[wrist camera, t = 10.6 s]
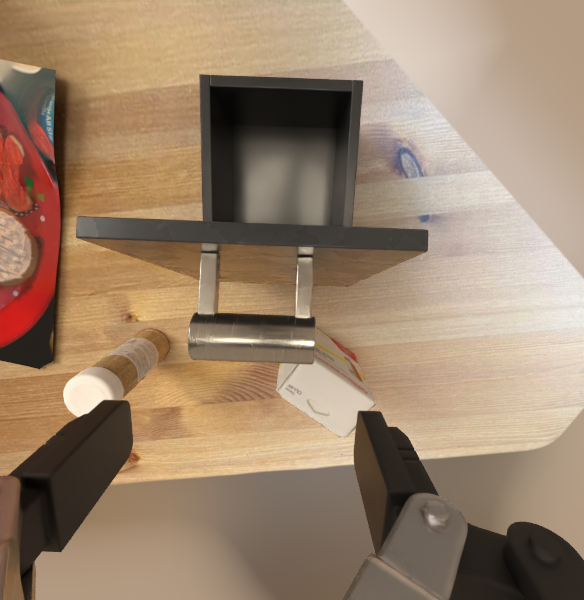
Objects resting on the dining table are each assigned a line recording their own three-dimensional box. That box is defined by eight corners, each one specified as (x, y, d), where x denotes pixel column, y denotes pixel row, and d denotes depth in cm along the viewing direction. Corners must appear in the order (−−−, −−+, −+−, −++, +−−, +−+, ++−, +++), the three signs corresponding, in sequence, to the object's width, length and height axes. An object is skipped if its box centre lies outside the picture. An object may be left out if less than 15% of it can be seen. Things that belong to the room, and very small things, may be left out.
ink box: (357, 354, 41) (380, 405, 30) (333, 383, 42) (347, 442, 31) (302, 316, 40) (305, 353, 29) (279, 347, 41) (273, 394, 30)
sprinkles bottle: (138, 362, 42) (67, 424, 29) (131, 328, 41) (54, 377, 28) (173, 359, 42) (118, 420, 29) (167, 325, 41) (107, 373, 28)
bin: (227, 118, 35) (199, 74, 25) (343, 123, 35) (363, 80, 25) (228, 261, 39) (204, 275, 28) (333, 265, 39) (347, 281, 28)
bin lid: (76, 215, 12) (66, 364, 11) (429, 229, 12) (425, 378, 11) (202, 271, 28) (199, 333, 28) (348, 277, 28) (346, 339, 28)
